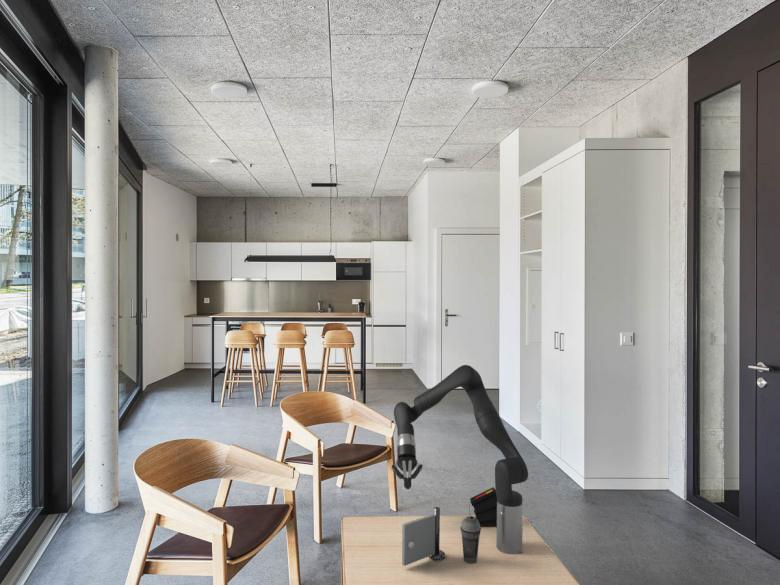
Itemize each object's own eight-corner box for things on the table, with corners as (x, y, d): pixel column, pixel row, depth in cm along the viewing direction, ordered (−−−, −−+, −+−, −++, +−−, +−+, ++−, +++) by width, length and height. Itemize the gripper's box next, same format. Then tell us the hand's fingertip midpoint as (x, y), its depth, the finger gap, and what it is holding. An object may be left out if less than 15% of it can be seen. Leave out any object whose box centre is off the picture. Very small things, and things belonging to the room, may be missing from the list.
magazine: (511, 522, 226) (496, 489, 225) (482, 537, 225) (466, 504, 224) (509, 518, 229) (493, 486, 229) (480, 533, 229) (464, 500, 228)
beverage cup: (467, 567, 194) (468, 510, 193) (455, 558, 200) (456, 502, 199) (484, 563, 197) (485, 506, 196) (472, 553, 203) (473, 499, 203)
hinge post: (445, 553, 204) (446, 505, 203) (444, 561, 198) (444, 512, 197) (429, 551, 205) (429, 504, 204) (427, 559, 199) (427, 510, 198)
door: (432, 552, 201) (433, 514, 201) (437, 555, 199) (437, 516, 199) (402, 564, 192) (402, 524, 192) (406, 567, 190) (406, 526, 190)
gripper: (422, 452, 233) (424, 492, 221) (390, 452, 233) (390, 492, 221) (422, 443, 227) (425, 483, 215) (390, 443, 227) (390, 484, 215)
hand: (407, 488), depth 218 cm, fingers closed
